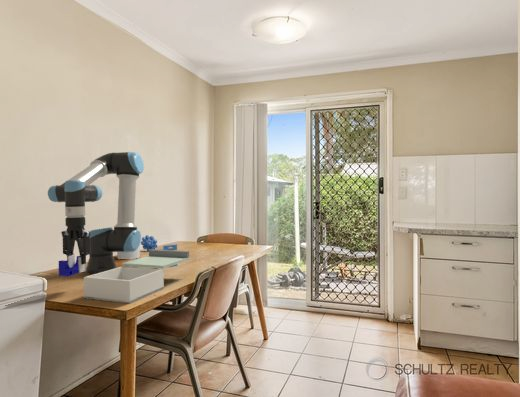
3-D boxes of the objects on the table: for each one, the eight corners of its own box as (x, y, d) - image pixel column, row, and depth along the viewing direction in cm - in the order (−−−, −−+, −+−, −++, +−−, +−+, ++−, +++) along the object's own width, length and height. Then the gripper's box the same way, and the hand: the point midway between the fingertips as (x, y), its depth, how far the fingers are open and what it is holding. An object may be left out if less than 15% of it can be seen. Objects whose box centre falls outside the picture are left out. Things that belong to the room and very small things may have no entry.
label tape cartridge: (174, 264, 210) (173, 243, 210) (177, 265, 207) (177, 244, 207) (160, 266, 204) (160, 245, 204) (163, 267, 201) (163, 245, 201)
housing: (83, 298, 142) (83, 277, 141) (122, 285, 162) (121, 266, 162) (130, 303, 134) (129, 281, 134) (163, 288, 155) (163, 269, 155)
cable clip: (68, 276, 144) (68, 261, 144) (58, 275, 145) (58, 261, 145) (88, 269, 156) (88, 256, 156) (79, 269, 157) (79, 255, 157)
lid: (121, 265, 162) (121, 256, 162) (151, 257, 183) (151, 249, 183) (163, 268, 155) (163, 258, 155) (189, 259, 176) (189, 251, 176)
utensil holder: (135, 260, 226) (135, 232, 226) (112, 260, 226) (112, 232, 226) (143, 256, 241) (143, 230, 241) (121, 256, 241) (121, 230, 241)
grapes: (140, 252, 254) (140, 236, 254) (140, 251, 261) (140, 235, 261) (157, 252, 258) (157, 235, 258) (157, 250, 264) (157, 234, 264)
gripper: (51, 217, 151) (53, 271, 151) (85, 217, 145) (86, 274, 146) (66, 215, 158) (67, 268, 158) (99, 216, 152) (100, 270, 153)
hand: (76, 271), depth 152 cm, fingers closed on cable clip, 5 cm apart
